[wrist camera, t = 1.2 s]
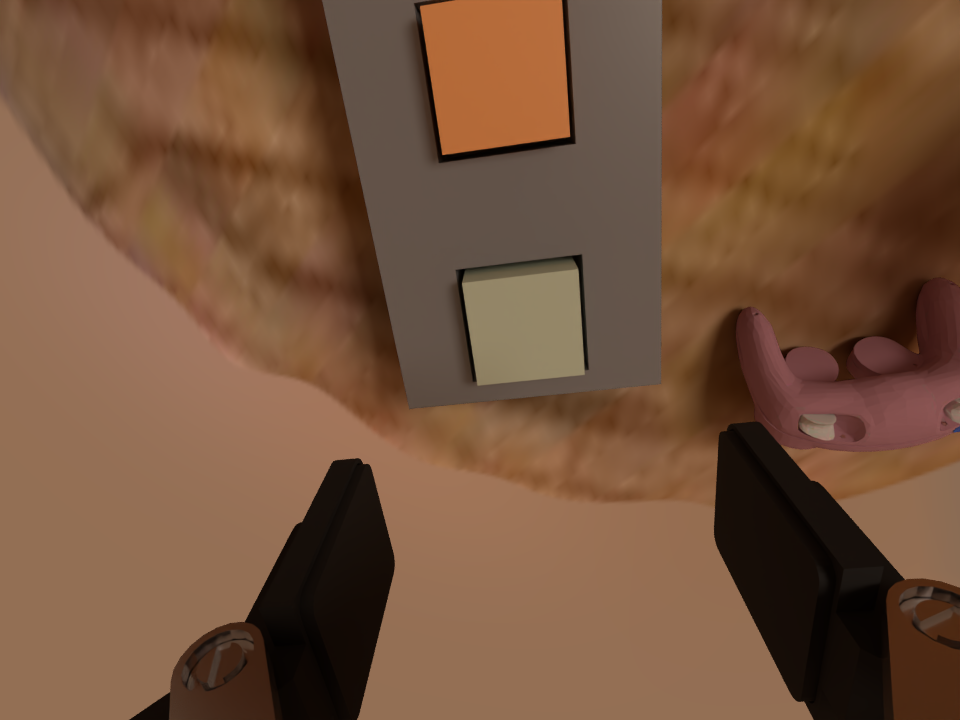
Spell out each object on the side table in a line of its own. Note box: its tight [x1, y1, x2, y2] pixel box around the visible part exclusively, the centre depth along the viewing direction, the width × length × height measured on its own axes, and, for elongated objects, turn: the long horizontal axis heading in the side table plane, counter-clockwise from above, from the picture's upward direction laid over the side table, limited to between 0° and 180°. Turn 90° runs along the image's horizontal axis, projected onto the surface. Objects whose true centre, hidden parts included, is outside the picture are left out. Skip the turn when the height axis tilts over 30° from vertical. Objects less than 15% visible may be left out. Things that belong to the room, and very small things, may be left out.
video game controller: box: [736, 278, 960, 452], centre depth 24 cm, size 10×5×7 cm, turn 100°
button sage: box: [462, 256, 585, 386], centre depth 22 cm, size 4×4×3 cm
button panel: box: [322, 0, 662, 409], centre depth 20 cm, size 25×11×4 cm, turn 8°
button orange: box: [420, 0, 570, 155], centre depth 19 cm, size 4×4×3 cm
